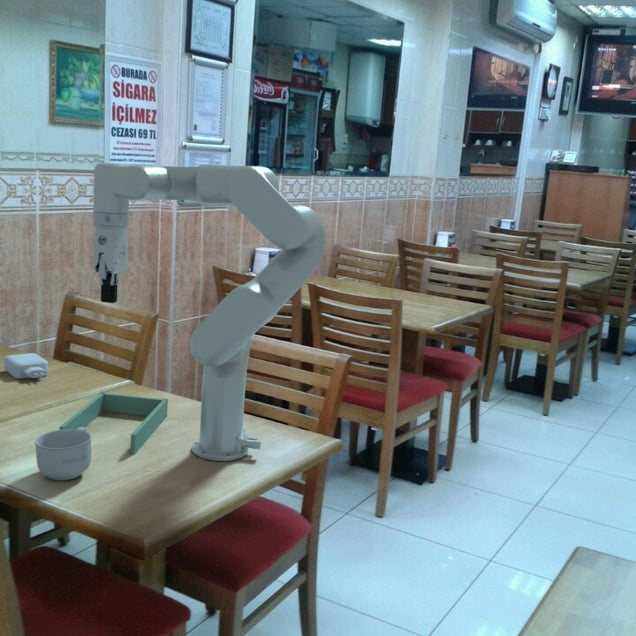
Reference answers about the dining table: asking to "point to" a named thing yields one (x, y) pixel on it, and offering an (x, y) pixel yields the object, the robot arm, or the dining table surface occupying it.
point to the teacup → (63, 453)
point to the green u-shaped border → (123, 404)
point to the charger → (26, 366)
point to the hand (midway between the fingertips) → (108, 301)
